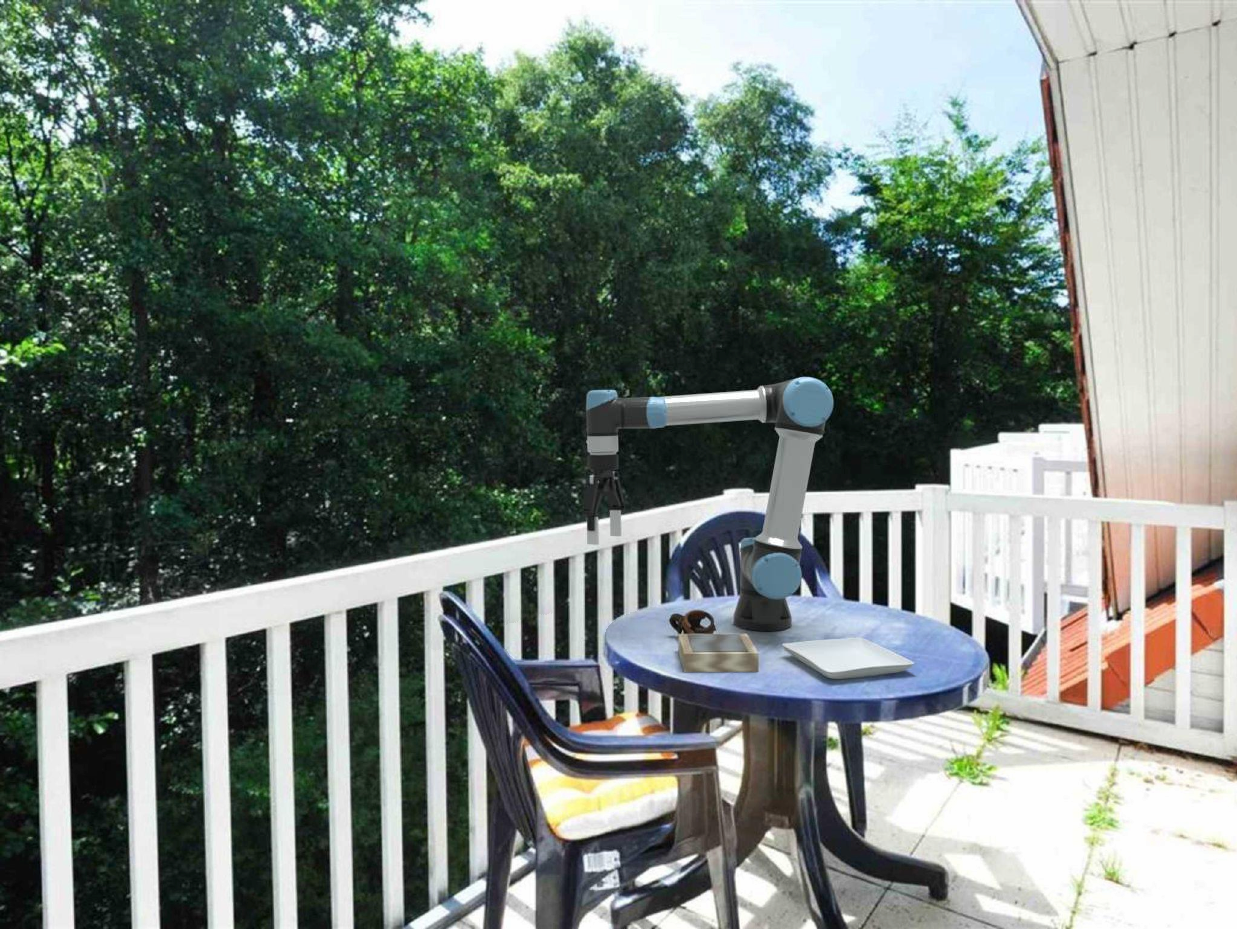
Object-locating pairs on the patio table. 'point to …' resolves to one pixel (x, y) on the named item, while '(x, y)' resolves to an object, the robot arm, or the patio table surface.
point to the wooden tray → (717, 653)
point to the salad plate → (847, 657)
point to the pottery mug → (692, 623)
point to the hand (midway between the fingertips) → (604, 540)
